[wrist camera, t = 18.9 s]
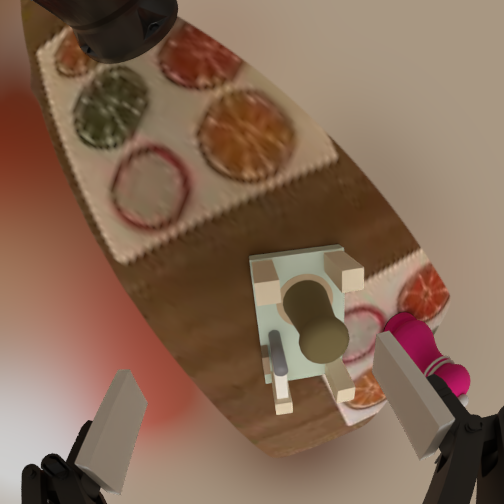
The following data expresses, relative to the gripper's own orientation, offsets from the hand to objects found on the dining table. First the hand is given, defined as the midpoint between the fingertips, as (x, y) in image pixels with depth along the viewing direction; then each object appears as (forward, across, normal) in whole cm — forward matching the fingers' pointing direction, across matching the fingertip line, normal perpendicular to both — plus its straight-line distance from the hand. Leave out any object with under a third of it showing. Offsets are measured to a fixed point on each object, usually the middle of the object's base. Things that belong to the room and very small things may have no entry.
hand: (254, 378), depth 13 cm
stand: (+23, +6, -11) cm, 27 cm away
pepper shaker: (+21, +6, -8) cm, 24 cm away
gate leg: (+21, +2, -17) cm, 27 cm away
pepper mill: (+23, +23, -18) cm, 37 cm away
